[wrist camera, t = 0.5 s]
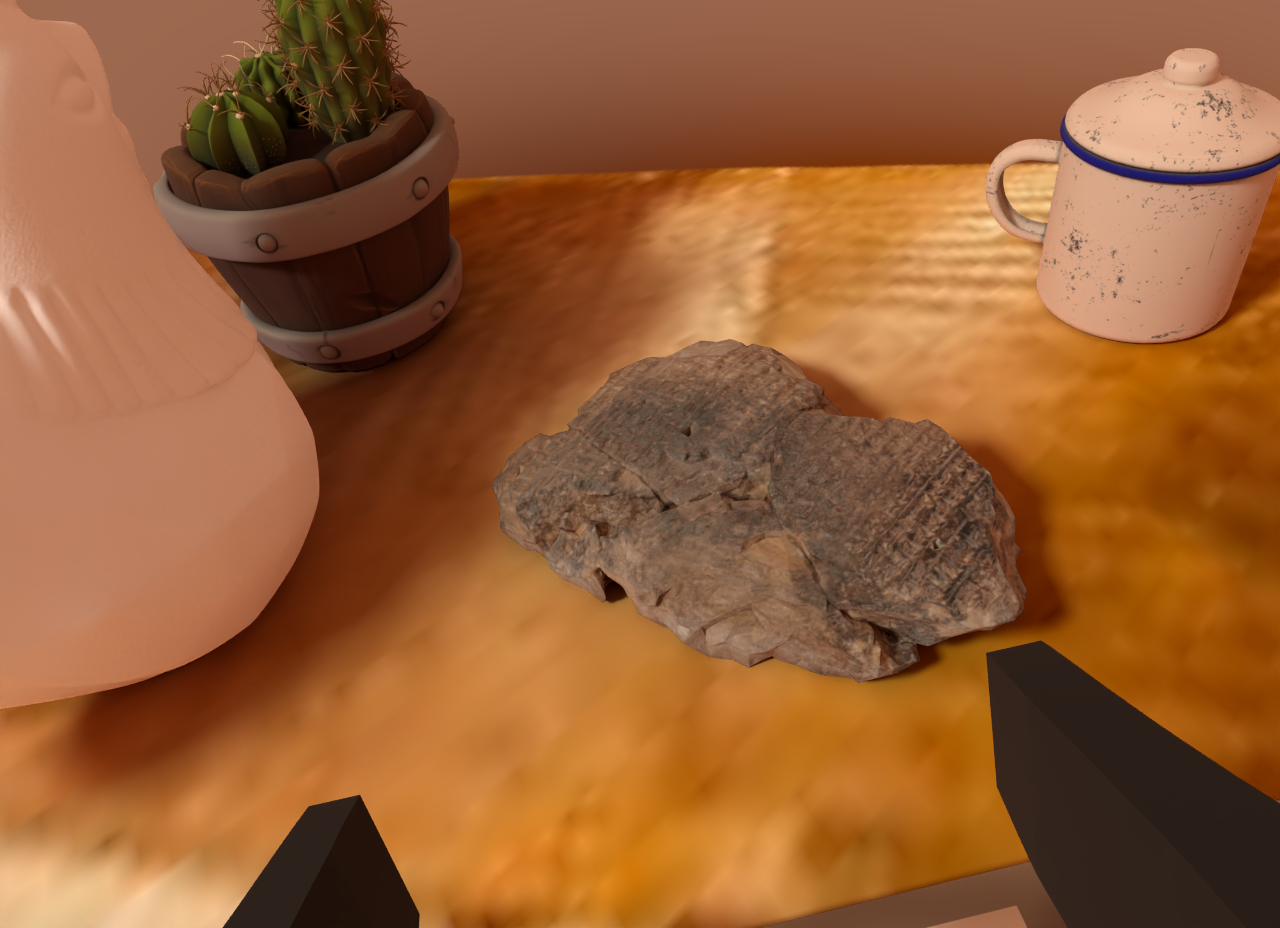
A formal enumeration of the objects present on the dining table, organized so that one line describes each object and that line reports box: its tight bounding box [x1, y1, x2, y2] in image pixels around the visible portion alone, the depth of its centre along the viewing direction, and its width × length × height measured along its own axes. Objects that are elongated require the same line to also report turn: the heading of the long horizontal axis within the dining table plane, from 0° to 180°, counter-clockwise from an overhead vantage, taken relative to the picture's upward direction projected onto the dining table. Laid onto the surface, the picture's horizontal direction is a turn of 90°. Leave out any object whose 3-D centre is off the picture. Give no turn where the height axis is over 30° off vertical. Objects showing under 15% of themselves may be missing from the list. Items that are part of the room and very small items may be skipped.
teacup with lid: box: [986, 48, 1280, 343], centre depth 43 cm, size 12×9×12 cm
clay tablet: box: [492, 339, 1027, 683], centre depth 37 cm, size 14×5×20 cm
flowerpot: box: [154, 0, 462, 372], centre depth 46 cm, size 14×15×20 cm
